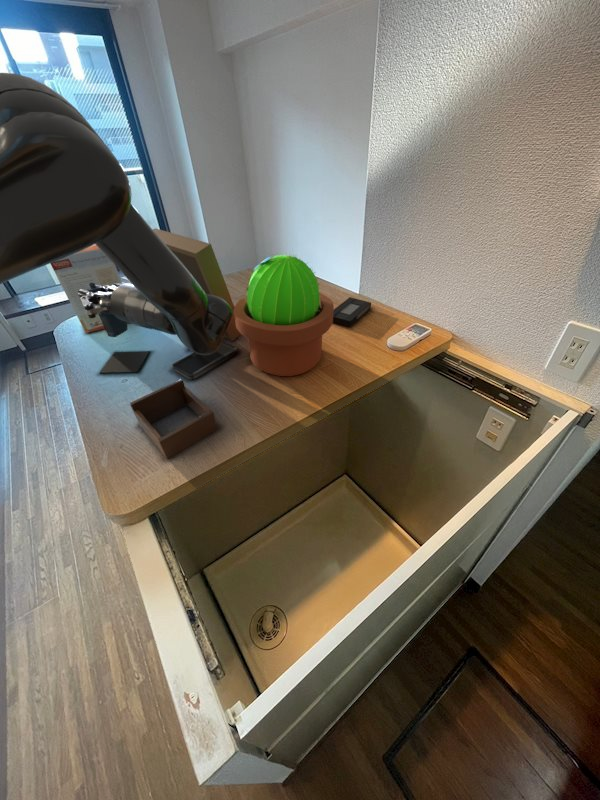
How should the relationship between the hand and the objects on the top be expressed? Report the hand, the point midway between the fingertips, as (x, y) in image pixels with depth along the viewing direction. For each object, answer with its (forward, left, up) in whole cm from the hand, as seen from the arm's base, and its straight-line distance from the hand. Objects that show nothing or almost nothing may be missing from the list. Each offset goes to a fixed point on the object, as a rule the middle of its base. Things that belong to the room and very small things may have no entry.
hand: (87, 292), depth 71 cm
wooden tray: (+21, -24, -18) cm, 37 cm away
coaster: (+2, -1, -18) cm, 18 cm away
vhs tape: (+61, +22, -18) cm, 67 cm away
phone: (+22, -1, -18) cm, 29 cm away
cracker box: (-10, +20, -18) cm, 28 cm away
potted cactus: (+42, 0, -18) cm, 46 cm away
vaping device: (+3, -1, -10) cm, 10 cm away
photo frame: (+17, +13, -18) cm, 28 cm away
